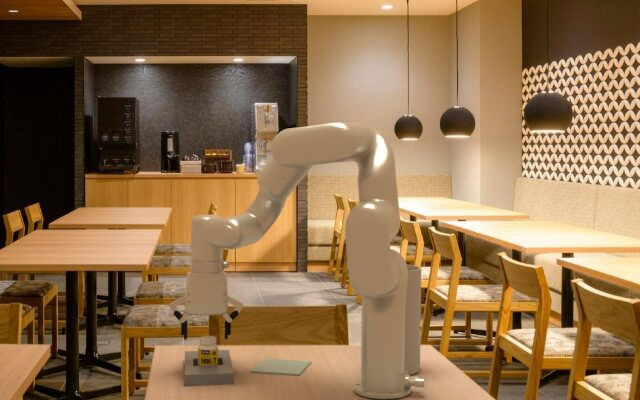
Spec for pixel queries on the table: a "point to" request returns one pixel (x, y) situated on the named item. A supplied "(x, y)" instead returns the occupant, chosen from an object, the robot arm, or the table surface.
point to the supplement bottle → (207, 351)
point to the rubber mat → (281, 367)
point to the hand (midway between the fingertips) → (205, 338)
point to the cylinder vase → (412, 320)
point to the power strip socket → (208, 370)
